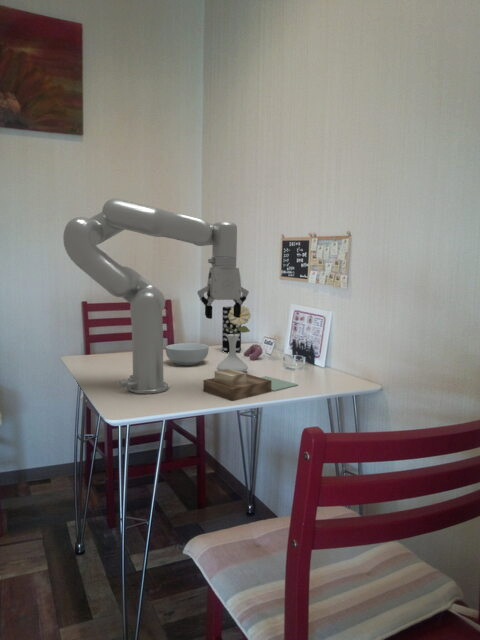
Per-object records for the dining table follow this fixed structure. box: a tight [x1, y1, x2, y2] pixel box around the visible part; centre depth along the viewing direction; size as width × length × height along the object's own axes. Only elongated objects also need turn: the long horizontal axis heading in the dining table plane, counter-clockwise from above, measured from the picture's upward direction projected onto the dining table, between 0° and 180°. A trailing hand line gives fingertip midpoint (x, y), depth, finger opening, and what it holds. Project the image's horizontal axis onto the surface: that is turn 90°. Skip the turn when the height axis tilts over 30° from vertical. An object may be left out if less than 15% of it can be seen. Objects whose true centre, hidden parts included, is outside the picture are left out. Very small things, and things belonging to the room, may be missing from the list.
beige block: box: [214, 369, 247, 386], centre depth 149 cm, size 6×8×3 cm
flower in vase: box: [216, 305, 252, 373], centre depth 175 cm, size 13×11×25 cm
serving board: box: [203, 373, 272, 401], centre depth 151 cm, size 16×14×4 cm
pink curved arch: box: [243, 343, 263, 361], centre depth 203 cm, size 10×5×7 cm, turn 17°
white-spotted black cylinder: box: [221, 306, 242, 353], centre depth 217 cm, size 8×8×20 cm
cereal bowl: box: [165, 342, 210, 366], centre depth 192 cm, size 17×17×7 cm
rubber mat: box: [260, 375, 299, 393], centre depth 161 cm, size 12×15×1 cm
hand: (223, 317), depth 152 cm, fingers open, 9 cm apart
